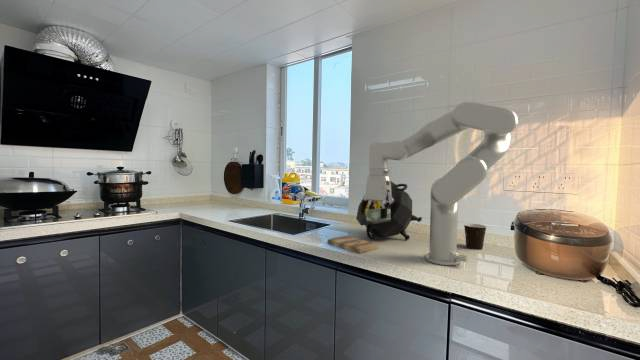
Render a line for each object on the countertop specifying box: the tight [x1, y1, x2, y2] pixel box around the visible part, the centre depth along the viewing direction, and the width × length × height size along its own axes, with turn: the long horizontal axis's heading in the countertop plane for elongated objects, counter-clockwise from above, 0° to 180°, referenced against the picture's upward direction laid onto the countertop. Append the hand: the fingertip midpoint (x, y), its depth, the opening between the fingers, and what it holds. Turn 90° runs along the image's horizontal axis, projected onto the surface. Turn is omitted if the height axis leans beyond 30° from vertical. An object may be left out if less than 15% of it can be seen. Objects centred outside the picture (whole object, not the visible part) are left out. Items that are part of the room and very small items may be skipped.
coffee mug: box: [464, 223, 487, 251], centre depth 125 cm, size 12×9×10 cm
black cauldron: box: [355, 180, 423, 241], centre depth 142 cm, size 28×28×24 cm
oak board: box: [327, 235, 380, 255], centre depth 127 cm, size 20×12×2 cm, turn 41°
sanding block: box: [366, 208, 391, 224], centre depth 117 cm, size 5×9×5 cm, turn 125°
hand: (377, 216), depth 116 cm, fingers closed on sanding block, 5 cm apart
